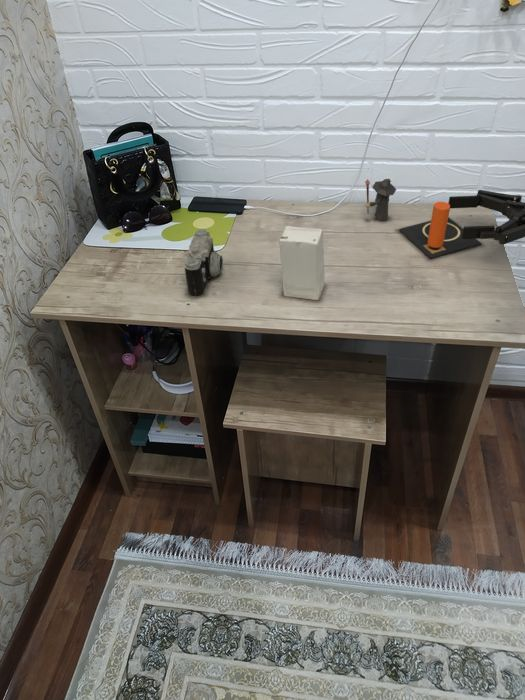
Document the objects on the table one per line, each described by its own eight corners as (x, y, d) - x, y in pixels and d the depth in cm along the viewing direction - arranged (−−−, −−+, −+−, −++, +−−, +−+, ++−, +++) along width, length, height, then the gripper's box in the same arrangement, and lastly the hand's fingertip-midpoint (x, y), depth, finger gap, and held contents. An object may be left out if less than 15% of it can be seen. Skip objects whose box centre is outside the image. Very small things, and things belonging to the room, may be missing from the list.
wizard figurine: (379, 210, 151) (383, 167, 143) (396, 217, 148) (401, 173, 140) (359, 222, 147) (362, 178, 139) (376, 229, 144) (381, 185, 136)
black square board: (480, 245, 137) (481, 242, 136) (430, 259, 133) (430, 256, 133) (446, 218, 146) (447, 215, 146) (399, 230, 143) (399, 228, 143)
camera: (216, 297, 127) (211, 260, 120) (186, 297, 128) (180, 259, 121) (227, 260, 137) (222, 223, 131) (199, 259, 138) (194, 223, 131)
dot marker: (442, 251, 134) (450, 209, 127) (426, 250, 135) (433, 209, 127) (442, 243, 137) (449, 201, 129) (426, 242, 137) (433, 201, 130)
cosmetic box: (324, 286, 128) (326, 228, 118) (318, 302, 124) (319, 243, 114) (288, 281, 130) (287, 223, 120) (281, 296, 126) (278, 238, 116)
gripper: (566, 258, 122) (466, 261, 123) (528, 201, 141) (441, 205, 142) (577, 227, 117) (472, 231, 118) (536, 173, 136) (446, 176, 137)
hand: (455, 217), depth 130 cm, fingers open, 13 cm apart
